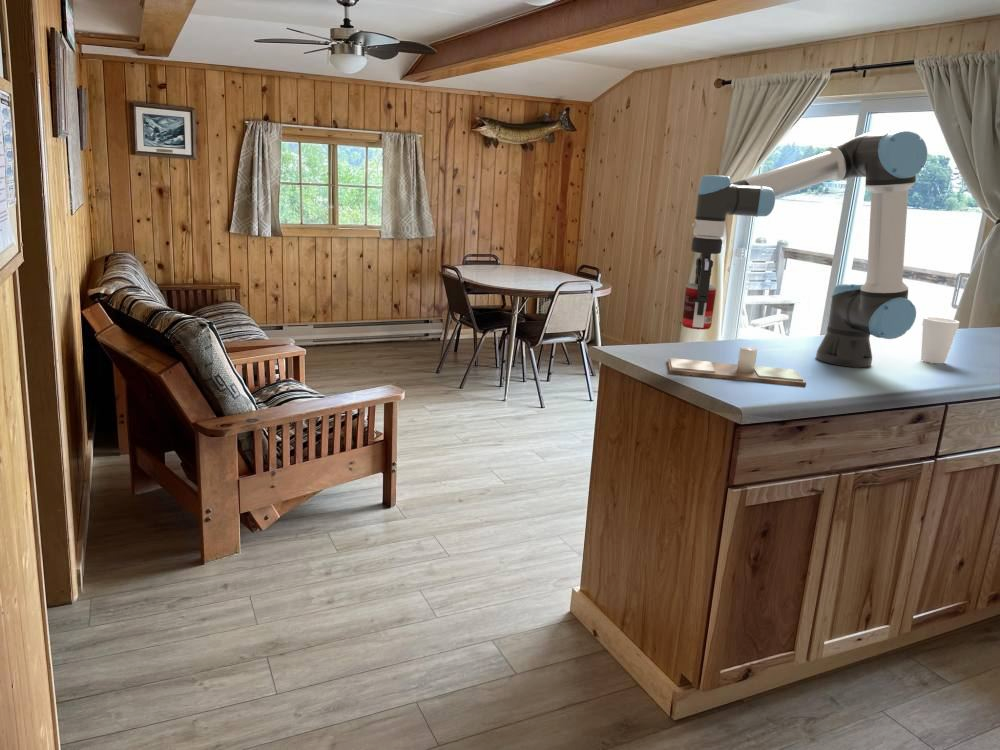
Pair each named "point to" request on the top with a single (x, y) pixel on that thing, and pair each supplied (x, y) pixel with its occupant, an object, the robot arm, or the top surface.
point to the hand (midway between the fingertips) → (696, 324)
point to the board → (734, 372)
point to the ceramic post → (747, 360)
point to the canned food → (690, 306)
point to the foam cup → (937, 338)
